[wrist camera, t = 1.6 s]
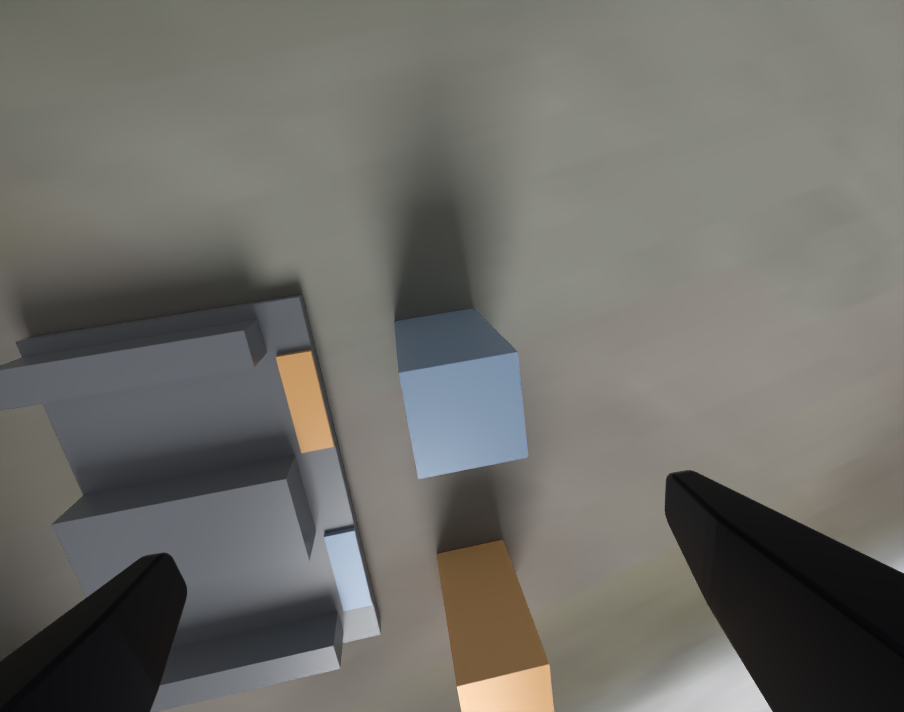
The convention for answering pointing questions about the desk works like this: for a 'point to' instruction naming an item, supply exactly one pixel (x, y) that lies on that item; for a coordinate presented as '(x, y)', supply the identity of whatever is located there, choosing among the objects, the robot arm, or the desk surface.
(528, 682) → the tan rectangular box
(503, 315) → the desk surface
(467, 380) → the blue plug
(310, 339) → the grey slotted base
